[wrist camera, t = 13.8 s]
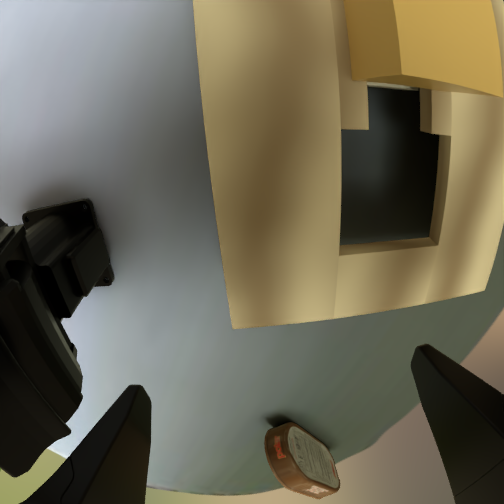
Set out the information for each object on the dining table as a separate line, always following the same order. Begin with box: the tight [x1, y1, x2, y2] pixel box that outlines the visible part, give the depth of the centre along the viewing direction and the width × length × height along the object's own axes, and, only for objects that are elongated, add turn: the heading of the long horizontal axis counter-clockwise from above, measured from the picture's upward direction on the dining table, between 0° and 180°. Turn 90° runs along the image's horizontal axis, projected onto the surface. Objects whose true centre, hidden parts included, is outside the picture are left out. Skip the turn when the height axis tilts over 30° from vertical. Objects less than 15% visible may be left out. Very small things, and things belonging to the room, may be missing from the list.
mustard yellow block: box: [343, 0, 503, 98], centre depth 9 cm, size 4×4×8 cm
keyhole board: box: [193, 0, 504, 329], centre depth 13 cm, size 16×22×6 cm
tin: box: [264, 422, 340, 499], centre depth 28 cm, size 15×3×8 cm, turn 34°
